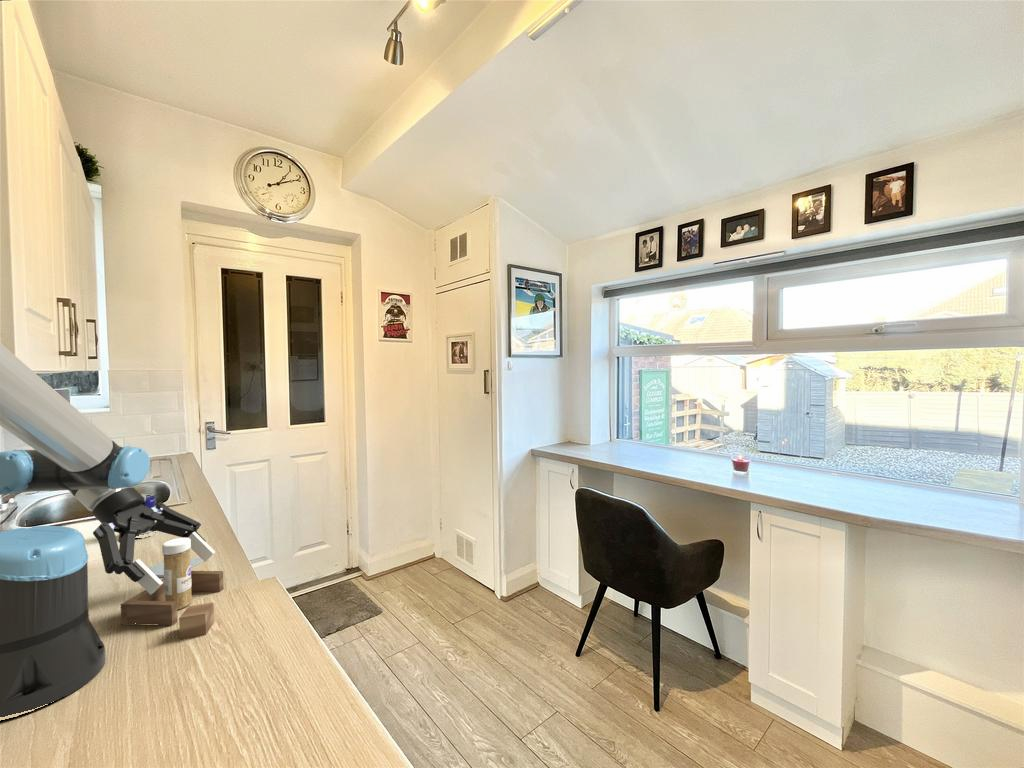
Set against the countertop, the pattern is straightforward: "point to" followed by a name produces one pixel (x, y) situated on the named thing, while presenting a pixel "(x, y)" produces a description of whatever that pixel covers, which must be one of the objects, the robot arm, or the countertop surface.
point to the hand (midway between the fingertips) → (185, 571)
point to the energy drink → (149, 505)
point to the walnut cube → (196, 620)
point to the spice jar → (177, 571)
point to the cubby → (165, 612)
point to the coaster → (159, 568)
